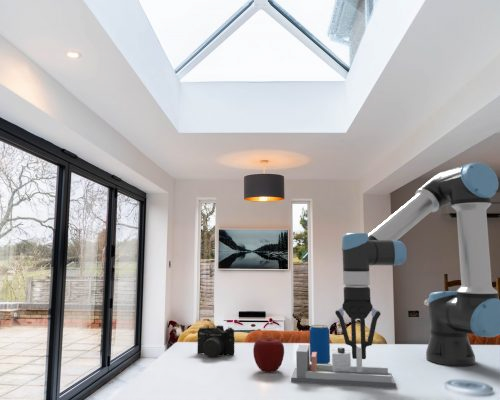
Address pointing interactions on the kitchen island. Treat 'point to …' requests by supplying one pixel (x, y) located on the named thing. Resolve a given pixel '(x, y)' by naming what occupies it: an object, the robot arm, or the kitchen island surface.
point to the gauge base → (327, 376)
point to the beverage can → (320, 343)
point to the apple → (268, 354)
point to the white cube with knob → (341, 361)
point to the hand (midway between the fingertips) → (359, 370)
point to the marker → (314, 361)
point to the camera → (216, 341)
